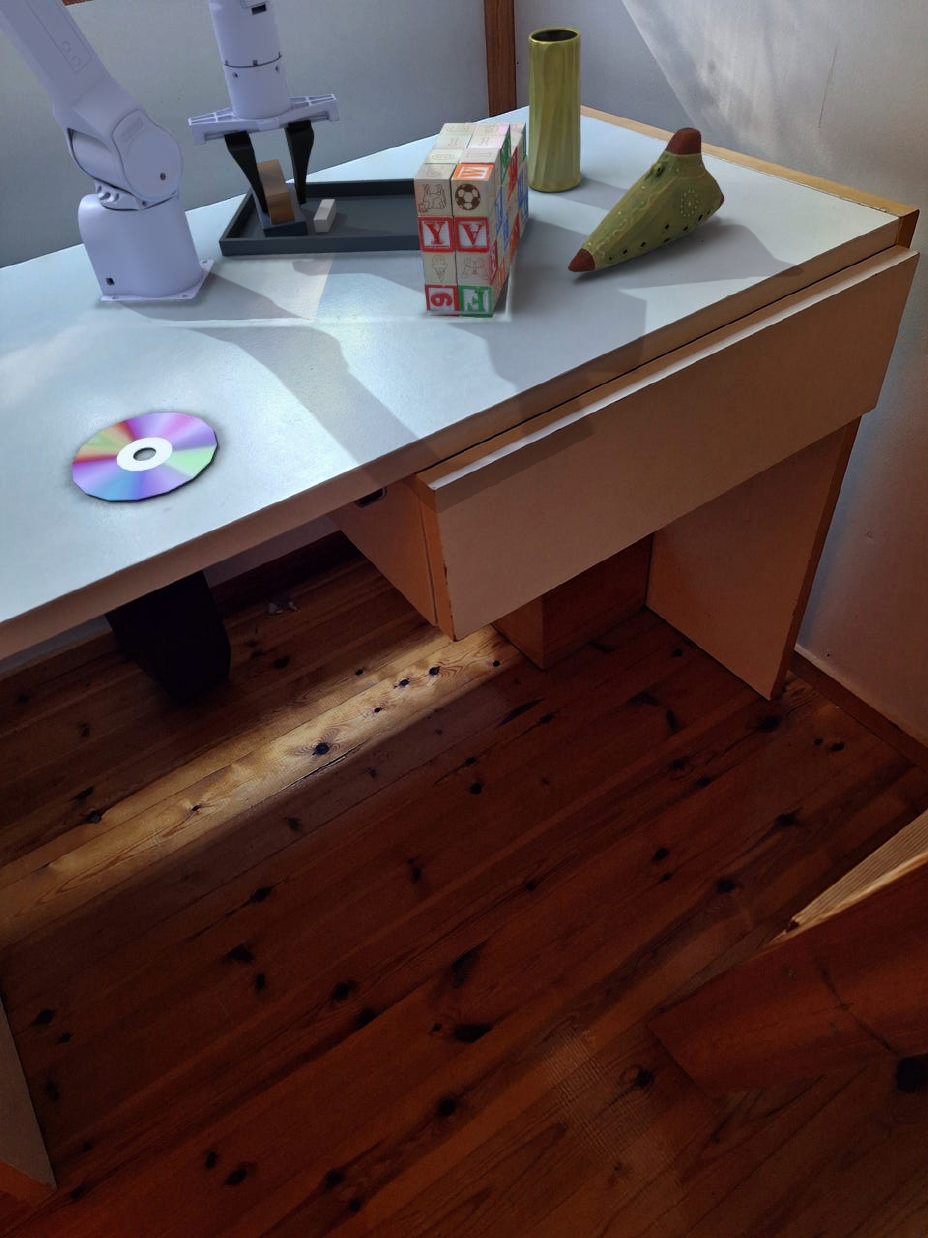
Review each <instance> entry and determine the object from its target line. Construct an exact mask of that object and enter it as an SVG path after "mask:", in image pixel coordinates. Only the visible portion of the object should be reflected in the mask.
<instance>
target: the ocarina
mask: <svg viewBox="0 0 928 1238" xmlns="http://www.w3.org/2000/svg"><path fill="white" fill-rule="evenodd" d="M724 203H725V194H724V192H723V191H722V189H721V187H720V185H719V182H718V181H717V179H716V178H715V177H714V176H713V175H712V174H711V173H710V172H709V171H708V169H707V168H706V166H705V163H704V160H703V154H702V134H701V131H700V130H698V129H697V128H694V127H689V126H688V127H682V128H680V129H677V130H676V132H675V133H674V134H673V135H672V136H671V138H670V139H669V141H668V143H667V145H666V147H665V148H664V149H663V151H662V153H661V154H660V155H659V157H658V158H657V160H656V161H655V162H653V163H652V165H651V166H650V167H649V169H648V170H647V171H646V172H644V174H642V175H641V176H640V177H639V178H638V179H637V180H636V182H635V183H634V184H632V186H630V188H629V189H628V190H627V192H626V193H625V194H624V195H623V196H622V197H621V198H620V199H619V200H618V201H617V203H615V205H614V206H613V207H612V208H611V210H610V211H609V212H608V213H607V214H606V215H605V216H604V217H603V219H602V220H601V222H600V223H599V224H598V226H597V227H596V228H595V229H594V230H593V231H592V232H591V234H589V236H588V237H587V238H586V239H585V240H584V241H583V243H582V245H581V246H580V248H579V250H578V251H577V253H576V254H575V256H574V257H573V258H572V259H571V261H570V262H569V264H568V265H567V271H569V272H572V273H587V272H588V273H589V272H595V271H599V270H600V271H601V270H602V269H606V268H609V267H612V266H615V265H618V264H621V263H624V262H626V261H629V260H631V259H634V258H637V257H639V256H642V255H644V254H646V253H649V252H651V251H654V250H656V249H658V248H660V247H662V246H664V245H666V244H669V243H671V242H673V241H675V240H678V239H679V238H681V237H684V236H686V235H688V234H690V233H691V232H692V231H694V230H695V229H697V228H698V227H700V226H701V225H703V224H704V223H705V222H706V221H708V220H709V219H710V218H712V216H714V214H716V212H717V211H719V209H720V208H721V207H722V206H723V204H724Z"/></svg>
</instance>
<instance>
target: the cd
mask: <svg viewBox="0 0 928 1238" xmlns="http://www.w3.org/2000/svg"><path fill="white" fill-rule="evenodd" d="M217 447H218V443H217V439H216V435H215V431H214V428H212V426H210V425H209V424H207V423H206V422H205V421H204V420H202V419H201V418H199V417H196V416H192V415H188V414H184V413H179V412H160V413H159V412H153V413H151V412H150V413H148V414H143V415H140V416H135V417H132V418H127V419H124V420H122V421H121V420H120V422H117V423H115V424H113V425H111V426H109V427H107V428H105V429H103V430H101V431H99V432H98V433H97V434H96V435H94V436H92V438H91V439H89V440H88V441H87V442H86V443H84V444H83V445H82V446H81V447H80V449H79V451H78V453H77V454H76V456H75V458H74V459H73V461H72V463H71V470H72V471H71V472H72V481H73V483H75V484H76V486H78V487H79V489H81V490H82V491H83V492H84V493H85V494H86V495H90V496H92V497H96V498H99V499H102V500H106V501H138V500H142V499H147V498H150V497H153V496H154V497H155V496H159V495H162V494H166V493H168V492H171V491H172V490H174V489H176V488H178V487H180V486H182V485H183V484H185V483H187V482H189V481H191V480H194V478H195V477H196V476H197V475H199V473H201V472H202V470H204V468H206V467H207V466H208V465H209V464H210V463H211V461H212V458H213V456H214V453H215V451H216V448H217ZM145 449H154V450H155V454H154V455H153V456H152V457H150V458H148V459H145V460H137V459H135V458H134V456H135V454H136V453H137V452H138V451H141V450H145Z"/></svg>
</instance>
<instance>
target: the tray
mask: <svg viewBox="0 0 928 1238" xmlns="http://www.w3.org/2000/svg"><path fill="white" fill-rule="evenodd" d="M288 183H289V182H286V184H288ZM292 183H293V184H294V182H292ZM294 186H295V184H294ZM252 191H253V188H252V186H251V185H250V187H249V189H248V190H247V192H246V193H245V195H244V197H243V198H242V200H241V202H240V204H239V205H238V206H237V209H236V210H235V212H234V214H233V215H232V216H231V217H232V218H231V219H230V220H229V223H228V224H227V226H226V228H224V231H223V233H222V235H221V236H220V237H219V239H218V245H219V248H220V252H221V255H222V256H223V257H230V256H232V257H233V256H237V257H238V256H265V255H266V256H267V255H299V254H300V255H301V254H302V255H304V254H305V255H306V254H337V253H365V252H366V253H368V252H369V253H370V252H371V253H372V252H399V251H400V252H403V251H405V252H407V251H408V252H409V251H421V248H420V239H419V230H418V213H417V206H416V196H415V188H414V177H410V178H409V177H408V178H380V179H379V178H378V179H354V180H351V179H350V180H328V181H306V202H307V203H306V204H302V205H301V207H302V210H303V213H304V216H305V219H306V223H307V228H308V234H304V235H299V236H290V237H265V236H264V233H263V229H262V225H261V222H260V218H259V215H258V211H257V208H256V204H255V200H254V196H253V192H252ZM325 199H335V203H336V209H337V213H336V215H335V218H334V220H333V223H332V225H331V227H330V230H329V232H318V233H316V231H315V226H314V220H313V219H314V217H315V215H316V213H317V210H318V208H319V206H320V204H321V202H322V200H325Z"/></svg>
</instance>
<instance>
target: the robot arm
mask: <svg viewBox="0 0 928 1238" xmlns="http://www.w3.org/2000/svg"><path fill="white" fill-rule="evenodd" d="M206 1H207V4H208V9H209V14H210V17H211V21H212V25H213V29H214V30H213V31H214V35H215V39H216V43H217V47H218V51H219V52H218V53H219V56H220V60H221V66H222V69H223V73H224V78H225V83H226V86H227V91H228V95H229V99H230V103H231V107H227V108H224V109H220V110H217V111H214V112H211V113H206V114H204V115H199V116H195V117H189V118H188V119H187V120H188V125H189V128H190V132H191V136H192V140H193V143H194V146H196V147H197V146H198V147H199V146H203V145H206V144H207V142H211V141H217V140H218V141H219V140H223V139H224V143H225V145H226V148H227V151H228V152H229V155H230V156H231V157H232V159H233V160H234V161H235V163H236V164H237V166H238V167H239V168H240V170H241V171H242V173H243V174H244V176H245V178H246V179H247V181H248V182H249V185H250V187H251V186H252V188H253V190H254V192H255V194H256V196H257V198H258V200H259V204H260V207H261V210H262V212H265V211H268V207H267V203H266V199H265V194H264V191H263V187H262V184H261V181H260V176H259V172H258V167H257V163H258V162H257V156H256V152H255V147H254V146H253V142H252V139H251V136H250V135H251V134H258V133H262V132H268V131H273V130H274V131H275V130H280V129H283V130H284V134H285V139H286V144H287V147H288V148H287V149H288V152H289V157H290V162H291V169H292V177H293V183H294V184H295V190H296V195H297V198H298V200H299V203H300V205H302V204H306V203H307V202H306V182H307V178H308V170H309V165H310V164H309V163H310V158H311V154H312V151H313V147H314V144H315V131H314V128H313V127H312V125H313V123H319V122H325V121H328V122H330V123H333V122H339V121H341V118H340V117H341V116H340V112H339V106H338V99H337V98H336V96H335V95H334V93H329V94H322V95H309V96H308V95H307V96H291V95H290V89H289V84H288V79H287V73H286V68H285V62H284V56H283V51H282V46H281V41H280V36H279V31H278V25H277V20H276V15H275V10H274V4H273V0H206ZM0 30H1V31H2V33H3V35H4V36H5V37H6V38H7V40H8V41H9V42H10V44H11V45H12V47H13V48H14V49H15V51H16V52H17V54H18V55H19V56H20V57H21V59H22V61H24V63H25V65H26V66H27V68H28V69H29V70H30V71H31V72H32V74H33V75H34V77H35V78H36V79H37V81H38V82H39V84H40V85H41V86H42V88H43V89H44V90H45V92H46V93H47V94H48V95H49V97H50V99H51V100H52V101H53V107H52V117H53V119H54V121H55V122H56V123H57V124H58V126H59V127H60V129H61V130H62V132H63V135H64V137H65V140H66V145H67V148H68V152H69V154H70V157H71V159H72V161H73V162H74V164H75V165H76V167H77V168H78V169H79V171H81V172H82V173H83V174H85V175H86V176H88V177H90V178H91V179H92V182H93V184H94V187H95V193H92V194H87V195H85V196H83V198H82V199H81V200H80V203H79V205H78V210H77V221H78V227H79V228H78V229H79V233H80V237H81V241H82V244H83V245H84V248H85V251H86V253H87V256H88V259H89V261H90V264H91V267H92V270H93V272H94V275H95V277H96V280H97V283H98V285H99V288H100V290H101V293H102V295H103V296H102V297H101V298H100V301H101V302H121V301H124V302H125V301H160V300H161V301H164V300H191V299H194V298H195V297H197V294H198V292H199V291H200V289H201V287H202V285H203V284H204V282H205V280H206V278H207V277H208V275H209V273H210V271H211V270H212V268H213V266H214V265H215V262H216V261H215V260H214V259H203V260H202V259H201V260H200V259H199V256H198V252H197V249H196V245H195V242H194V238H193V234H192V231H191V228H190V225H189V221H188V217H187V214H186V212H185V211H186V210H185V208H184V207H185V206H184V203H183V201H182V197H181V192H180V188H179V185H180V184H181V181H182V179H183V178H182V177H183V174H184V168H185V165H184V163H185V162H184V160H185V159H184V154H183V151H182V147H181V145H180V142H179V141H178V139H177V138H176V136H175V135H174V134H173V132H172V131H171V130H170V129H168V128H167V127H166V126H165V125H163V124H161V123H159V122H157V121H156V120H155V119H153V118H152V116H151V115H150V114H149V113H148V112H147V110H146V108H145V107H144V105H143V103H142V102H141V101H140V100H139V99H138V98H137V97H135V96H134V95H133V94H132V93H131V92H130V91H129V90H128V89H127V88H125V86H123V84H121V82H119V81H117V79H116V78H115V77H114V76H112V74H111V73H110V71H109V70H108V69H107V67H106V65H105V63H104V62H103V61H102V60H101V58H100V56H99V55H98V53H97V52H96V50H95V49H94V48H93V45H92V44H91V43H90V41H89V39H88V38H87V37H86V35H85V34H84V32H83V31H82V29H81V28H80V26H79V25H78V23H77V22H76V19H75V18H74V16H73V15H72V14H71V12H70V11H69V9H68V8H67V6H66V5H65V3H64V2H63V0H0Z"/></svg>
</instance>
